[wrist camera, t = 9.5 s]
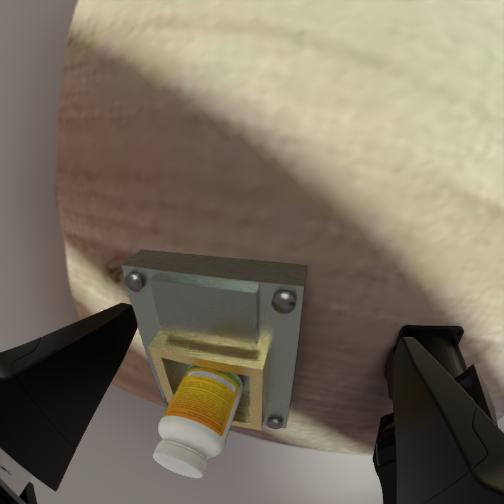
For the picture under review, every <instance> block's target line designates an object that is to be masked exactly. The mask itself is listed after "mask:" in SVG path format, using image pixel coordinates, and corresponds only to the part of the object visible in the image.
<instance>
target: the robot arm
mask: <svg viewBox="0 0 504 504" xmlns="http://www.w3.org/2000/svg"><path fill="white" fill-rule="evenodd" d="M137 327H138V323H137V319H136V315H135V312H134V308H133V306H132V305H130V304H126V303H120V304H118V305H115V306H113V307H110V308H108V309H106V310H103V311H101V312H99V313H96V314H94V315H92V316H89V317H87V318H85V319H82V320H80V321H78V322H75V323H73V324H71V325H68V326H66V327H63V328H61V329H59V330H56V331H54V332H52V333H49V334H47V335H45V336H43V337H40V338H38V339H35V340H33V341H31V342H28V343H26V344H23V345H20V346H18V347H15V348H12V349H9V350H6V351H4V352H0V504H37V501H36V496H35V492H34V487H33V484H32V483H31V482H30V481H29V480H30V479H31V478H32V476H34V477H36V478H37V479H38V480H40V481H41V482H43V483H44V484H45V485H47V486H48V487H50V488H51V489H53V490H54V491H57V489H58V488H59V485H60V483H61V481H62V479H63V476H64V474H65V472H66V470H67V468H68V466H69V463H70V461H71V459H72V457H73V455H74V453H75V451H76V448H77V447H78V444H79V442H80V441H81V438H82V436H83V434H84V433H85V431H86V429H87V427H88V424H89V423H90V421H91V419H92V417H93V415H94V413H95V411H96V409H97V407H98V405H99V404H100V402H101V400H102V398H103V396H104V394H105V392H106V391H107V389H108V387H109V385H110V383H111V381H112V380H113V378H114V376H115V374H116V373H117V371H118V369H119V367H120V365H121V363H122V361H123V359H124V357H125V355H126V353H127V350H128V348H129V346H130V344H131V341H132V339H133V337H134V335H135V332H136V330H137ZM405 331H408V332H405ZM463 333H464V330H463V328H462V327H461V326H416V325H406V326H404V327H403V328H402V329H401V332H400V334H399V337H398V340H397V343H396V345H395V346H394V347H393V348H392V350H391V353H390V355H389V358H388V360H387V363H386V365H385V369H386V370H385V372H384V376H385V378H386V379H387V383H388V391H389V398H390V399H391V400H393V411H394V412H393V413H391V414H389V415H388V414H387V415H385V416H382V417H381V421H380V426H379V431H378V435H377V440H376V444H375V449H374V455H373V462H374V466H375V470H376V473H377V475H378V477H379V479H380V483H381V487H382V493H383V504H504V433H503V432H502V431H501V430H500V429H499V428H498V424H497V418H496V413H495V408H494V405H493V402H492V400H491V397H490V394H489V392H488V389H487V387H486V385H485V383H484V381H483V379H482V378H481V376H480V374H479V372H478V370H477V369H476V367H475V365H474V364H473V365H471V366H470V367H468V368H467V366H466V363H465V361H464V358H463V356H462V354H461V351H460V349H459V346H458V344H459V342H460V339H461V337H462V335H463Z"/></svg>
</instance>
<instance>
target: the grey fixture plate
mask: <svg viewBox="0 0 504 504" xmlns="http://www.w3.org/2000/svg"><path fill="white" fill-rule="evenodd" d="M122 269H123V273H124V277H125V283H126V285H127V289H128V293H129V297H130V301H131V305H132V306H133V308H134V312H135V315H136V319H137V323H138V329H139V332H140V335H141V339H142V342H143V345H144V348H145V351H146V354H147V357H148V360H149V363H150V366H151V368H152V371H153V374H154V377H155V379H156V382H157V385H158V387H159V390H160V393H161V395H162V398H163V401H164V402H165V403H166V404H167V405H169V404H170V402H171V400H172V398H173V396H174V394H175V392H176V390H177V388H178V387H179V385H180V383H181V381H182V379H183V377H184V375H185V373H186V371H187V370H188V368H189V367H190V366H191V365H194V366H199V367H204V368H208V369H213V370H218V371H224V372H229V373H235V374H237V375H238V376H239V377H240V379H241V381H242V383H243V391H242V395H241V398H240V401H239V404H238V407H237V410H236V413H235V416H234V419H233V422H232V424H231V425H233V426H238V427H243V428H249V429H255V430H262V426H263V425H266V426H268V427H270V428H273V429H279V428H286V425H287V419H288V414H289V409H290V402H291V396H292V389H293V382H294V375H295V367H296V360H297V352H298V344H299V335H300V327H301V317H302V308H303V298H304V287H305V276H306V265H299V264H288V263H277V262H266V261H255V260H244V259H233V258H222V257H212V256H201V255H191V254H180V253H170V252H160V251H150V250H140V251H139V252H137V253H136V254H135V255H134V256H132V257H131V258H130V259H129V260H127V261H126V262H125V263H124V264H123V265H122Z"/></svg>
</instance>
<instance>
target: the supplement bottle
mask: <svg viewBox="0 0 504 504" xmlns="http://www.w3.org/2000/svg"><path fill="white" fill-rule="evenodd" d="M242 391H243V383H242V381H241V379H240V377H239V376H238V375H237V374H235V373H229V372H224V371H218V370H213V369H208V368H204V367H199V366H194V365H191V366H190V367H189V368H188V370H187V371H186V373H185V375H184V377H183V379H182V381H181V383H180V385H179V387H178V388H177V390H176V392H175V394H174V396H173V398H172V400H171V402H170V404H169V405H168V407H167V409H166V411H165V413H164V415H163V417H162V419H161V420H160V423H159V425H158V431H159V434H160V436H161V437H162V439H163V441H160V442H159V444H158V445H157V447H156V449H155V452H154V454H153V458H154V459H155V460H156V461H157V462H158V463H159V464H161V465H162V466H164V467H165V468H167V469H169V470H171V471H173V472H175V473H178V474H181V475H184V476H187V477H192V478H200V477H202V476H203V474H204V472H205V470H206V467H207V463H208V460H207V459H206V458H212V457H215V456H217V455H218V454H220V452H221V451H222V449H223V447H224V445H225V442H226V438H227V436H228V433H229V430H230V427H231V424H232V422H233V419H234V416H235V413H236V410H237V407H238V404H239V401H240V398H241V395H242Z"/></svg>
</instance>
